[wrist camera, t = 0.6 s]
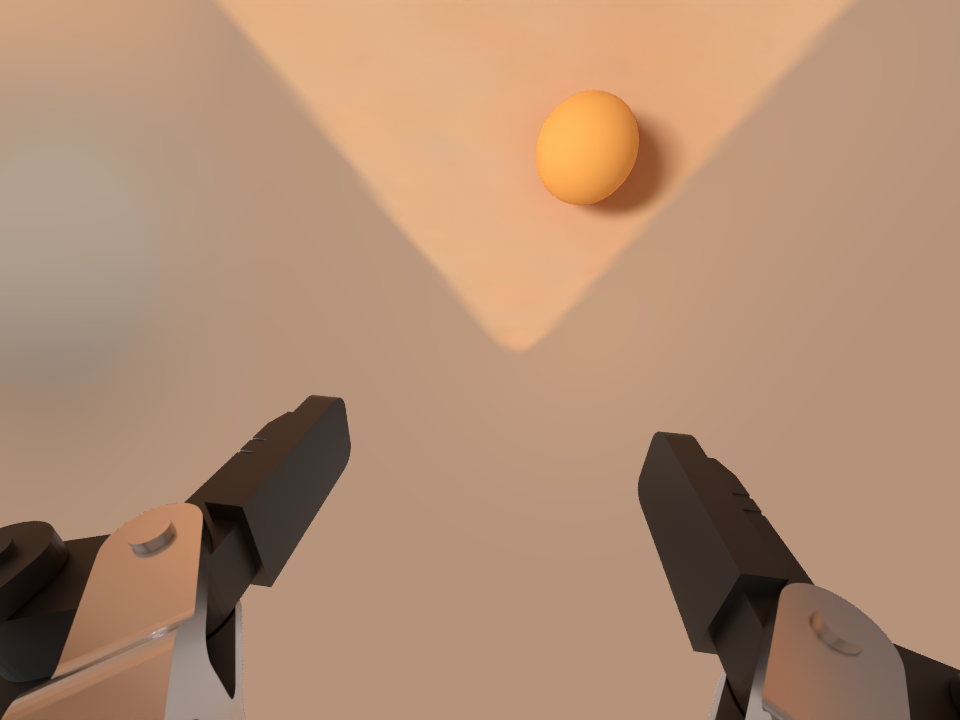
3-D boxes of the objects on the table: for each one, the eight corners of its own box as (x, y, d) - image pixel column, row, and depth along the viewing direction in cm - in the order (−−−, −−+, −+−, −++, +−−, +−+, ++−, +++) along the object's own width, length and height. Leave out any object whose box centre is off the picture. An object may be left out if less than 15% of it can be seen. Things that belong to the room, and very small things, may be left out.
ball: (539, 99, 23) (544, 78, 18) (633, 100, 23) (666, 80, 18) (530, 199, 26) (532, 207, 21) (614, 202, 26) (638, 211, 20)
